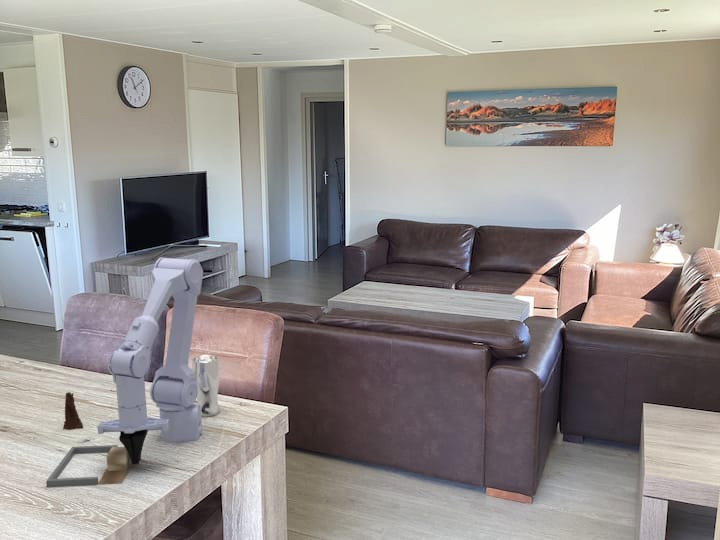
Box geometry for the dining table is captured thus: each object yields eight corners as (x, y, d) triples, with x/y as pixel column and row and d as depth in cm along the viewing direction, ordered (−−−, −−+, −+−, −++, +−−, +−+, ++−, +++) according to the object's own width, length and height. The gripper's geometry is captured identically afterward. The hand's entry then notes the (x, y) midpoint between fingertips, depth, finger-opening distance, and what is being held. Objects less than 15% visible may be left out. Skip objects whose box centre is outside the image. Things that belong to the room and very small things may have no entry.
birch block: (131, 461, 140) (130, 446, 140) (126, 470, 136) (125, 455, 136) (113, 461, 140) (111, 447, 139) (107, 471, 136) (106, 455, 135)
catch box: (118, 455, 146) (117, 444, 145) (97, 490, 131) (96, 478, 130) (73, 457, 145) (72, 446, 144) (47, 492, 130) (46, 481, 130)
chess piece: (67, 436, 155) (63, 398, 153) (59, 430, 159) (55, 392, 157) (86, 430, 158) (82, 392, 156) (78, 424, 162) (74, 387, 160)
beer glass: (224, 407, 172) (222, 354, 169) (216, 418, 165) (213, 363, 162) (199, 406, 173) (196, 353, 170) (190, 417, 166) (187, 362, 163)
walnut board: (140, 454, 146) (140, 449, 146) (122, 489, 131) (122, 483, 131) (118, 455, 146) (117, 450, 145) (97, 490, 131) (97, 484, 131)
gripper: (90, 412, 131) (96, 472, 134) (162, 409, 132) (166, 469, 135) (101, 398, 138) (106, 456, 141) (169, 396, 139) (173, 453, 142)
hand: (136, 461), depth 138 cm, fingers closed
